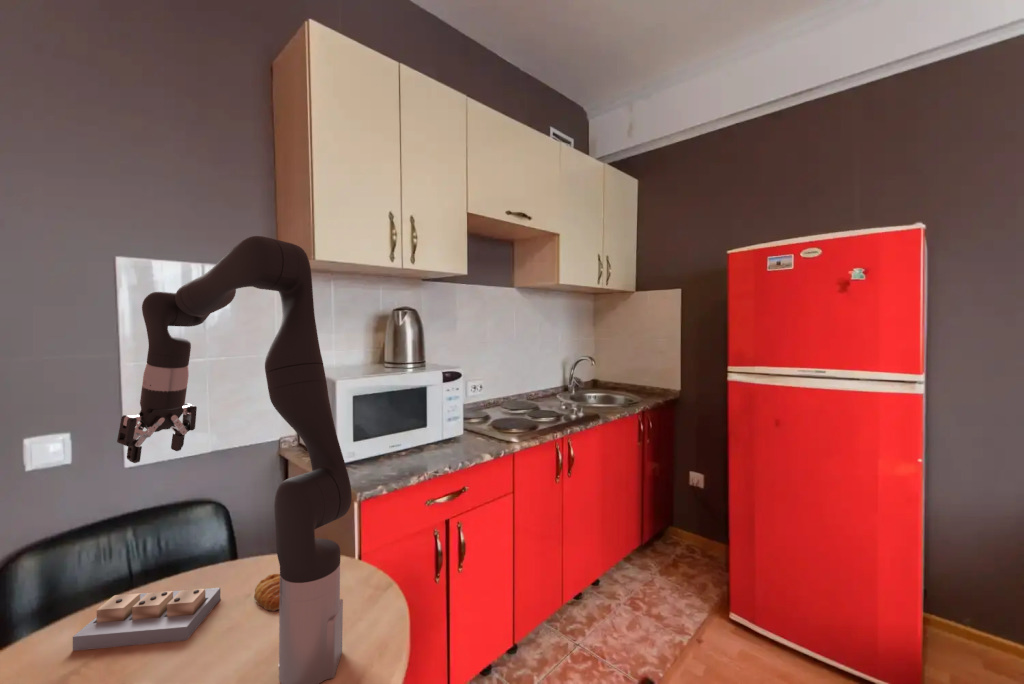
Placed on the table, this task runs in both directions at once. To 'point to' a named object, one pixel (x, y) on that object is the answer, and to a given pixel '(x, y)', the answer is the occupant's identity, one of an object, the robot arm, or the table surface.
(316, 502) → the robot arm
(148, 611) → the button
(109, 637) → the panel
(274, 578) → the pastry
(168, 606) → the button
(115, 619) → the button
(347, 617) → the table surface
